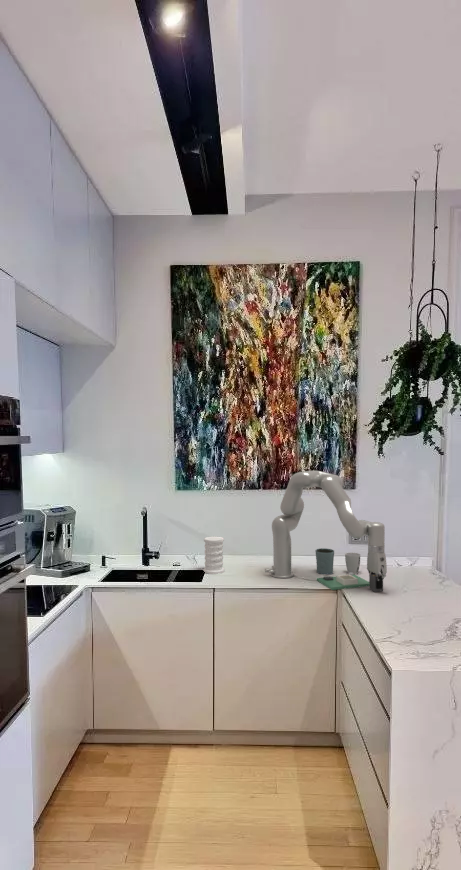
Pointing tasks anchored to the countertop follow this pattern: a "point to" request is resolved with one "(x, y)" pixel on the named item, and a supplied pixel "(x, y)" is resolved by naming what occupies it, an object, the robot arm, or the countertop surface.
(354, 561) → the cup
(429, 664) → the countertop surface
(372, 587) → the plug
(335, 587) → the board
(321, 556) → the dark grey open cylinder
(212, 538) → the decorative container
